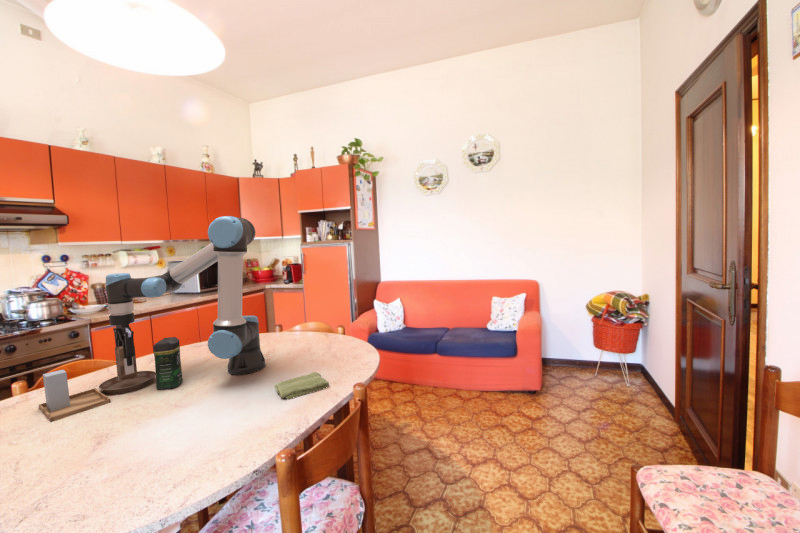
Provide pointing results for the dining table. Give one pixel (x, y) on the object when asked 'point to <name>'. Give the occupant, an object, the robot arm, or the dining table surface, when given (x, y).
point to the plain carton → (56, 390)
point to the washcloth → (301, 385)
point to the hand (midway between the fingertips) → (127, 372)
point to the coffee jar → (167, 363)
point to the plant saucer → (127, 383)
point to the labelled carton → (120, 364)
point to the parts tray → (77, 404)
